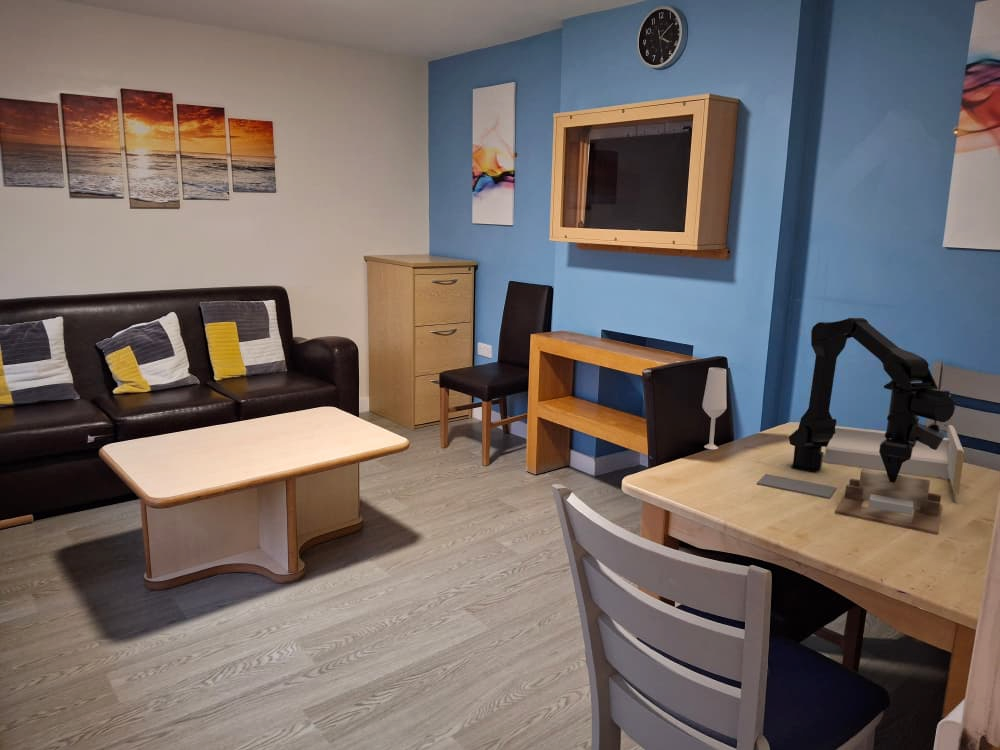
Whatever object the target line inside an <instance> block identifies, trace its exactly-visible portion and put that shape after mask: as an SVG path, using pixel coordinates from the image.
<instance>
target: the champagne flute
mask: <svg viewBox="0 0 1000 750" xmlns="http://www.w3.org/2000/svg"><path fill="white" fill-rule="evenodd" d="M705 383H706V384H705V389H704V395H703V399H702V405H701V406H702V409H703V411H704V412H705V413H706V414H707V415H708V417H709V418H711V419H710V428H709V429H710V431H709V440H708V441H709V443H707V444H705V445H704V446H703V447H704V448H705V449H709V450H717V449H719V447H718V446H717V445H716V444H714V443H715V442H714V439H715V429H716V428H715V427H716V419H717V418H719V417H720V416H721V415H723V413H725V412H726V409H727V369H726V368H722V367H709V368H708V373H707V378H706V382H705Z"/></svg>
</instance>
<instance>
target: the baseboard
mask: <svg viewBox="0 0 1000 750" xmlns="http://www.w3.org/2000/svg"><path fill="white" fill-rule="evenodd" d="M943 426H945V427H946V426H947V425H946V424H944V425H943ZM955 428H956V427H955V426H953V425H952V424H948V427H947V436H946V438H949V444H948V451H947V452H948V457H947V458H948V466H947V471H948V474H949V478H950V484H951V488H952V490H953V493H954V494H957V495H958V494H959V493H960V486H961V481H962V480H961V479H962V472H963V465H964V457H965V451H964V449H963V447H962V443H961V441H960V438H959V435H958V433H957V431H956V429H955ZM943 431H944V432H945V431H946V430H945V429H944V430H943Z"/></svg>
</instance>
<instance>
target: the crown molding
mask: <svg viewBox="0 0 1000 750" xmlns="http://www.w3.org/2000/svg"><path fill="white" fill-rule="evenodd" d="M885 433H886V430H885V431H884V430H878V429H877V430H876V429H868V428H867V429H866V428H858V427H849V426H839V425H836V426H835V434H833V437H832V439H830V441H829V444H828V446H827V447H825V450H824V451H825V453H824V460H823V461H824V463H825V464H833V465H841V466H842V465H843V466H848V467H857V468H862V469H869V470H876V471H885V472H886V469H885V466H884V463H883V460H882V458H881V456H880V453H879V450H880V444H881V442H882V441H884V440H885V439H887V438H885ZM890 439H891V438H890ZM912 443H913V442H912ZM948 444H949V438H947V437H944V439H943V440H942V442H941V443H940V445H939V447H938V448H937V450H934V449H931V448H930V447H929V446H927V445H925V444H923V443H921V442H919V441H917V442H916V444H915V446H914V447H913V450H912V456H911V458H910V459H909V460H907V461H905V462H903V463H902V466H901V468H900V471H899V473H898V474H903V473H904V475H911V474H913V475H912V476H918V475H921V476H920V477H926V476H930V477H929V478H933V477H941V478H948V479H950V478H949V474H948V471H947V466H948V458H947V457H948V452H947V451H948ZM941 478H940V479H941ZM948 479H947V480H948Z"/></svg>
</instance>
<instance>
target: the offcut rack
mask: <svg viewBox="0 0 1000 750" xmlns="http://www.w3.org/2000/svg"><path fill="white" fill-rule="evenodd" d="M859 482H860V479H856V478H850V479H849V484H846V486H845V492H844V494H843V496H842V498H841V499H840V501H839V503H838V504H837V506H836V508H835V510H834V514H838V515H842V516H848V517H852V518H857V519H862V520H866V521H872V522H876V523H881V524H886V525H890V526H895V527H901V528H905V529H909V530H914V531H920V532H922V533H923V532H924V533H929V534H933V535H939V529H940V522H941V515H942V510H943V504H941V498H942V494H937V493H932V492H929V493H928V500H926V499H922V501H921V508H920V510H916V509H914V516H913V520H912V524H909V523H904V522H899V521H894V520H889V519H884V518H879V517H875V516H870V515H865V514H860V512H861V505H862V503H863V501H864V500H865V499H862V493H863V488H862V487H859Z"/></svg>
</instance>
